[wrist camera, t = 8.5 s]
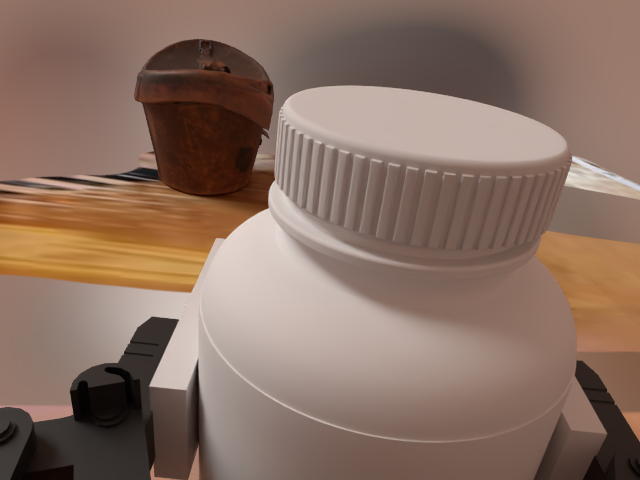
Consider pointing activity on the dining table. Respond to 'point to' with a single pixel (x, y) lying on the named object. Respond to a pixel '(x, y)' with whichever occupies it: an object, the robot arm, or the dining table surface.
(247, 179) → the brown plant pot
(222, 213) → the dining table surface
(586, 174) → the dining table surface
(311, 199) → the pill bottle
